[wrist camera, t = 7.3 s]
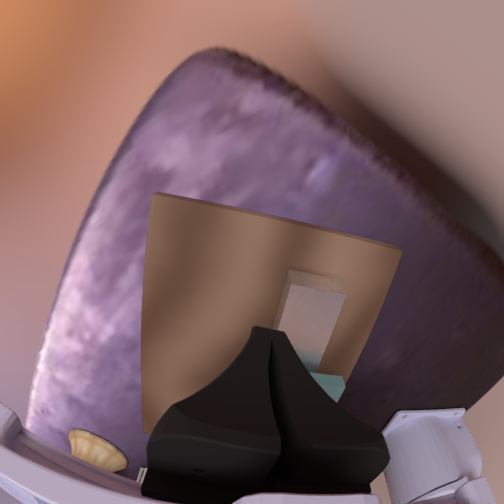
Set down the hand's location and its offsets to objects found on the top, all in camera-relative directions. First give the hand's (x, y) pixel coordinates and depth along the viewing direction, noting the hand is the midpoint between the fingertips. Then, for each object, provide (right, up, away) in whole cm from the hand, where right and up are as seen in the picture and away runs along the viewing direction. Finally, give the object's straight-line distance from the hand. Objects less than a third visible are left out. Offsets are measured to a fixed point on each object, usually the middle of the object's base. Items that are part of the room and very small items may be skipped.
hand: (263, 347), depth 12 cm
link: (+2, -3, +7) cm, 8 cm away
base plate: (-1, -4, +9) cm, 10 cm away
